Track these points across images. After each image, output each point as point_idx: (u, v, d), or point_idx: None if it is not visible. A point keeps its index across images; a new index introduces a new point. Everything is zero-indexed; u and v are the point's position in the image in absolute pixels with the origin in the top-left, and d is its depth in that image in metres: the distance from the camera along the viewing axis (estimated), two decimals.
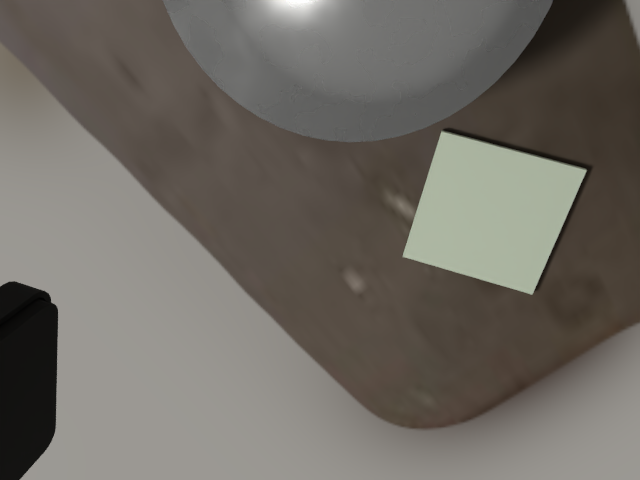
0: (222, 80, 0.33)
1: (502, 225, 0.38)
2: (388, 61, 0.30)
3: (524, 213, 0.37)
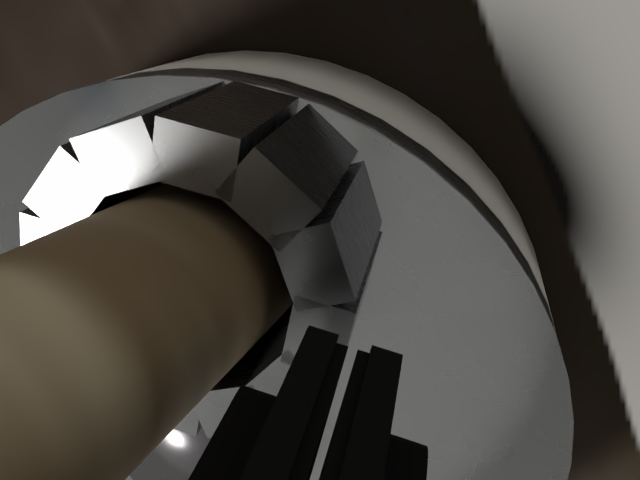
0: None
1: None
2: None
3: None
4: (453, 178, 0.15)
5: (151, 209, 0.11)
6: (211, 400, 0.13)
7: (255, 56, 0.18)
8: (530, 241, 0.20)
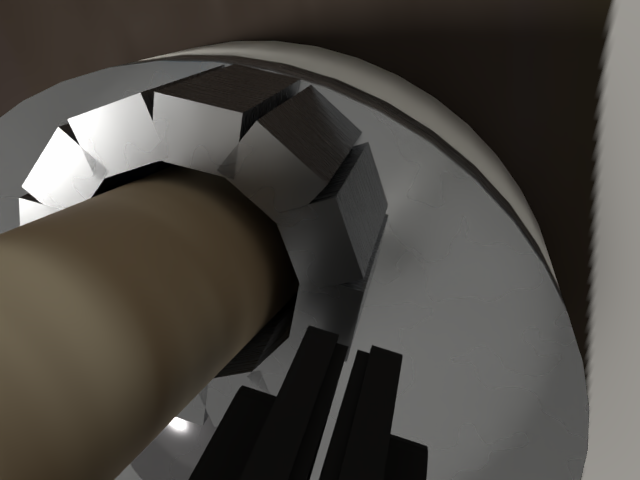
0: None
1: None
2: None
3: None
4: (459, 159, 0.14)
5: (150, 190, 0.10)
6: (217, 387, 0.12)
7: (374, 73, 0.17)
8: None
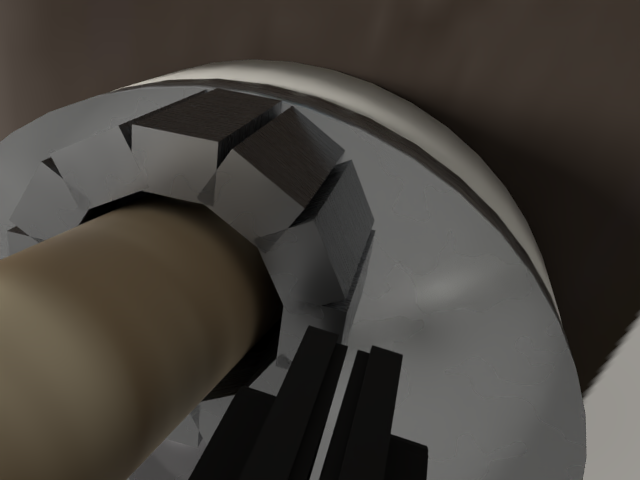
0: None
1: None
2: None
3: None
4: (444, 172, 0.14)
5: (131, 217, 0.10)
6: (209, 409, 0.12)
7: (496, 186, 0.18)
8: None
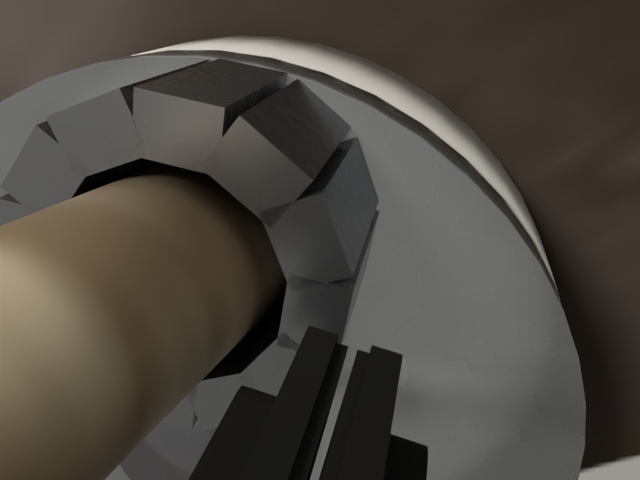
0: None
1: None
2: None
3: None
4: (451, 153, 0.14)
5: (128, 189, 0.10)
6: (206, 390, 0.12)
7: None
8: None
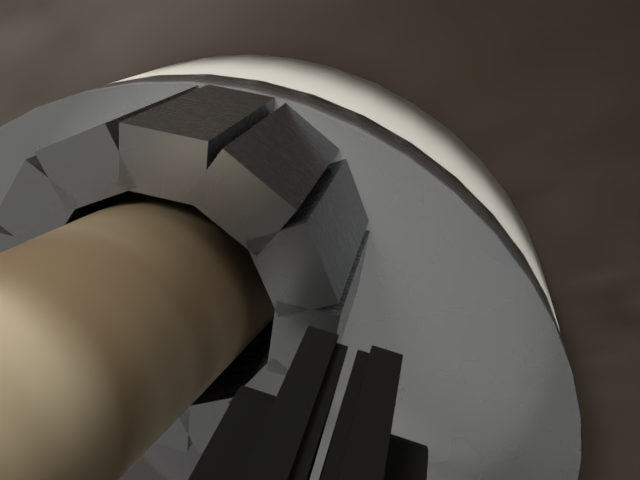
0: None
1: None
2: None
3: None
4: (440, 171, 0.14)
5: (115, 217, 0.10)
6: (199, 414, 0.12)
7: None
8: None
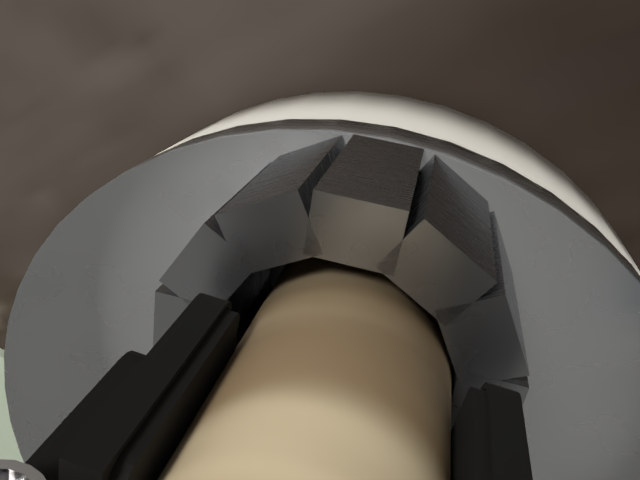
0: None
1: None
2: None
3: None
4: (584, 223, 0.14)
5: (345, 291, 0.10)
6: None
7: None
8: None
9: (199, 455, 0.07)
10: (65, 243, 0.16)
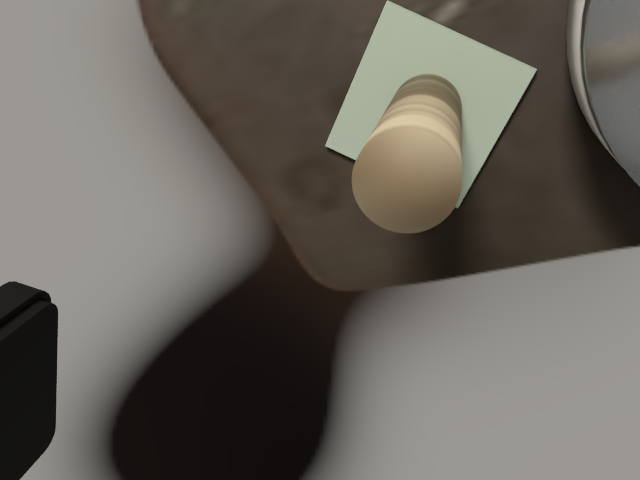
0: None
1: None
2: None
3: None
4: None
5: (425, 85, 0.29)
6: None
7: None
8: None
9: (396, 104, 0.26)
10: None
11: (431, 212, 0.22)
